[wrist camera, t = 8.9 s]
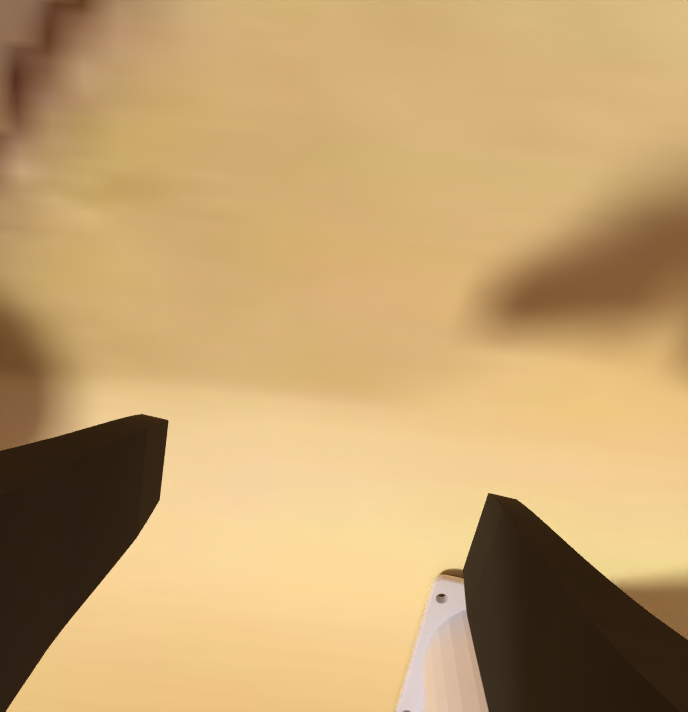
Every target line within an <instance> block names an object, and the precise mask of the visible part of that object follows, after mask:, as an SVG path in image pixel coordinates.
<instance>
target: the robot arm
mask: <svg viewBox="0 0 688 712" xmlns="http://www.w3.org/2000/svg"><path fill="white" fill-rule="evenodd" d="M167 429H168V420H165V419H161V418H157V417H152V416H148V415H143V414H140V415H134V416H129V417H125V418H121V419H117V420H114V421H110V422H106V423H103V424H100V425H96V426H93V427H89V428H86V429H82V430H79V431H75V432H72V433H68V434H65V435H61V436H58V437H54V438H50V439H46V440H42V441H38V442H34V443H30V444H26V445H22V446H19V447H15V448H11V449H7V450H3V451H0V712H6V710H7V709H8V707H9V706H10V704H11V702H12V701H13V699H14V698H15V696H16V695H17V693H18V692H19V690H20V689H21V688H22V686H23V685H24V683H25V682H26V680H27V679H28V677H29V676H30V674H31V673H32V671H33V670H34V668H35V667H36V665H37V664H38V662H39V661H40V659H41V658H42V656H43V655H44V653H45V652H46V650H47V649H48V648H49V646H50V645H51V644H52V642H53V641H54V640H55V638H56V637H57V636H58V634H59V633H60V632H61V630H62V629H63V628H64V626H65V625H66V624H67V623H68V621H69V620H70V619H71V618H72V617H73V615H74V614H75V613H76V612H77V611H78V609H79V608H80V607H81V606H82V604H83V603H84V602H85V601H86V600H87V598H88V597H89V596H90V595H91V593H92V592H93V591H94V590H95V589H96V587H97V586H98V585H99V584H100V582H101V581H102V580H103V579H104V578H105V576H106V575H107V574H108V573H109V571H110V570H111V569H112V568H113V567H114V565H115V564H116V563H117V562H118V560H119V559H120V558H121V557H122V555H123V554H124V553H125V552H126V550H127V549H128V548H129V547H130V545H131V544H132V543H133V542H134V540H135V539H136V538H137V536H138V535H139V533H140V531H141V530H142V528H143V527H144V525H145V523H146V522H147V520H148V519H149V517H150V515H151V514H152V512H153V510H154V508H155V507H156V505H157V503H158V502H159V500H160V491H161V482H162V473H163V465H164V456H165V447H166V438H167ZM438 594H445V596H443V597H439V596H437V595H438ZM405 710H408V711H405ZM395 712H688V640H687V639H685V638H684V637H682V636H681V635H680V634H678V633H677V632H676V631H674V630H673V629H671V628H670V627H669V626H667V625H666V624H664V623H663V622H662V621H660V620H659V619H658V618H656V617H655V616H653V615H652V614H651V613H650V612H648V611H647V610H646V609H644V608H643V607H642V606H640V605H639V604H638V603H637V602H635V601H634V600H633V599H632V598H630V597H629V596H628V595H627V594H626V593H624V592H623V591H622V590H621V589H619V588H618V587H617V586H616V585H615V584H613V583H612V582H611V581H610V580H608V579H607V578H606V577H605V576H604V575H603V574H601V573H600V572H599V571H598V570H597V569H596V568H594V567H593V566H592V565H591V564H590V563H589V562H587V561H586V560H585V559H584V558H583V557H582V556H581V555H580V554H578V553H577V552H576V551H575V550H574V549H573V548H572V547H571V546H570V545H568V544H567V543H566V542H565V541H564V540H563V539H562V538H561V537H560V536H559V535H557V534H556V533H555V532H554V531H553V530H552V529H551V528H550V527H549V526H548V525H546V524H545V523H544V522H543V521H542V520H541V519H540V518H539V517H538V516H536V515H535V514H534V513H533V512H532V511H531V510H529V509H528V508H527V507H526V506H525V505H523V504H522V503H521V502H519V501H518V500H516V499H512V498H508V497H504V496H499V495H495V494H490V493H488V496H487V499H486V502H485V505H484V508H483V511H482V514H481V517H480V520H479V523H478V526H477V529H476V532H475V535H474V538H473V541H472V544H471V547H470V550H469V553H468V556H467V560H466V563H465V566H464V569H463V578H459V577H454V576H450V575H438V576H437V577H435V578H434V580H433V582H432V585H431V589H430V592H429V596H428V599H427V602H426V606H425V609H424V613H423V616H422V620H421V623H420V626H419V630H418V633H417V637H416V640H415V643H414V647H413V650H412V654H411V657H410V660H409V664H408V667H407V671H406V674H405V678H404V681H403V684H402V688H401V691H400V695H399V698H398V701H397V705H396V708H395Z"/></svg>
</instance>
